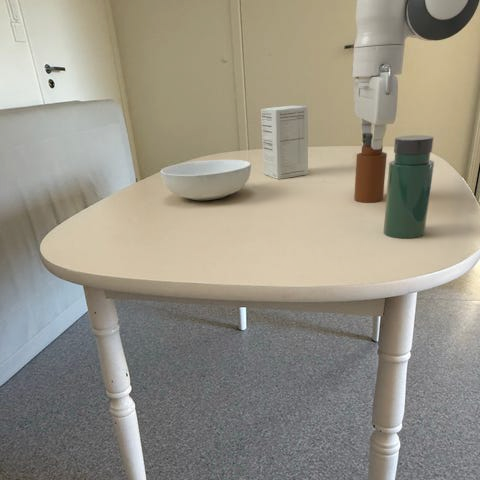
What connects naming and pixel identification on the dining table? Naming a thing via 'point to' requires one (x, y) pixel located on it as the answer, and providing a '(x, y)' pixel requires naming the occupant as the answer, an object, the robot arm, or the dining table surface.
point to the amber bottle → (370, 173)
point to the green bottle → (409, 187)
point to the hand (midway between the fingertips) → (370, 145)
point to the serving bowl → (206, 178)
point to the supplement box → (285, 141)
